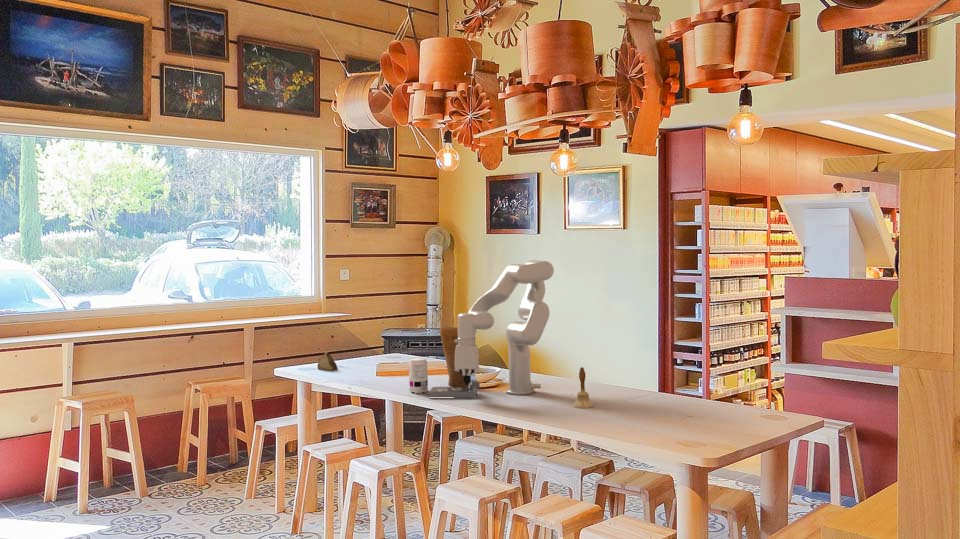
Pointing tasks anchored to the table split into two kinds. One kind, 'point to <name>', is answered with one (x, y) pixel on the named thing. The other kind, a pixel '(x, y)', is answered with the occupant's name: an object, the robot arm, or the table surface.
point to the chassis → (453, 392)
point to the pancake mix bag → (451, 356)
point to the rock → (327, 362)
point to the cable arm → (474, 382)
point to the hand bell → (582, 393)
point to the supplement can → (418, 375)
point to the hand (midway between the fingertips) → (467, 384)
